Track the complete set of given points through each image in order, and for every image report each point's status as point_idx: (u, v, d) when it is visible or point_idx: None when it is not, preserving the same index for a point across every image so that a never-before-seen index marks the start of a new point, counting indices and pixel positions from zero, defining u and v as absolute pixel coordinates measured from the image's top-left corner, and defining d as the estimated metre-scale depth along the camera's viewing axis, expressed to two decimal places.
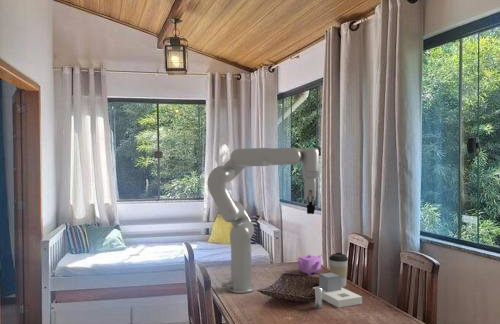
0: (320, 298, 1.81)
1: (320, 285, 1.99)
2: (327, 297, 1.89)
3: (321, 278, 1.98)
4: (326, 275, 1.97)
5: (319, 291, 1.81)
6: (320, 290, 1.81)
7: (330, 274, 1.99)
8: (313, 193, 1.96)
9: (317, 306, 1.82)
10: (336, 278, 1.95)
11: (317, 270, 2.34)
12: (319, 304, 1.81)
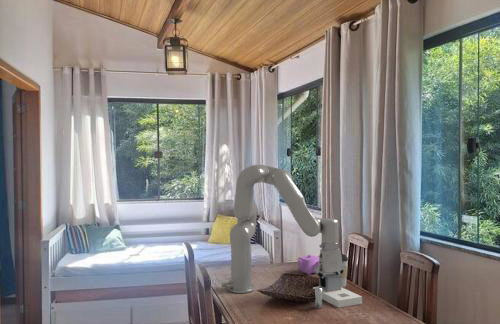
0: (320, 298, 1.81)
1: (320, 285, 1.99)
2: (327, 297, 1.89)
3: None
4: (326, 275, 1.97)
5: (319, 291, 1.81)
6: (320, 290, 1.81)
7: (330, 274, 1.99)
8: None
9: (317, 306, 1.82)
10: (336, 278, 1.95)
11: None
12: (319, 304, 1.81)
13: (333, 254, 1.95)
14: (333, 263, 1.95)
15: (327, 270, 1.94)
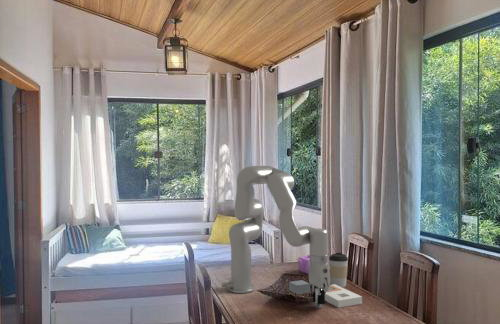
0: None
1: None
2: (327, 297, 1.89)
3: (290, 286, 1.98)
4: (295, 283, 1.97)
5: None
6: None
7: (300, 282, 1.98)
8: None
9: (317, 306, 1.82)
10: (305, 286, 1.95)
11: None
12: None
13: None
14: None
15: None
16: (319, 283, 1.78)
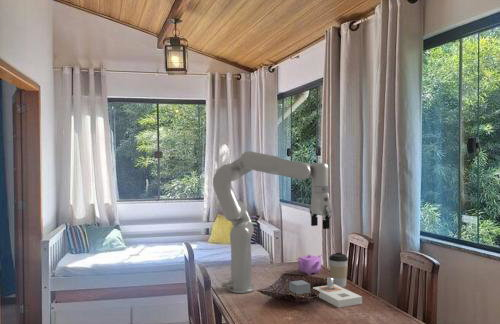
0: (331, 287, 1.97)
1: None
2: (327, 297, 1.89)
3: (290, 286, 1.98)
4: (295, 283, 1.97)
5: (331, 280, 1.97)
6: (331, 279, 1.97)
7: (300, 282, 1.98)
8: None
9: None
10: (305, 286, 1.95)
11: (317, 270, 2.34)
12: None
13: None
14: None
15: None
16: (320, 210, 1.97)
